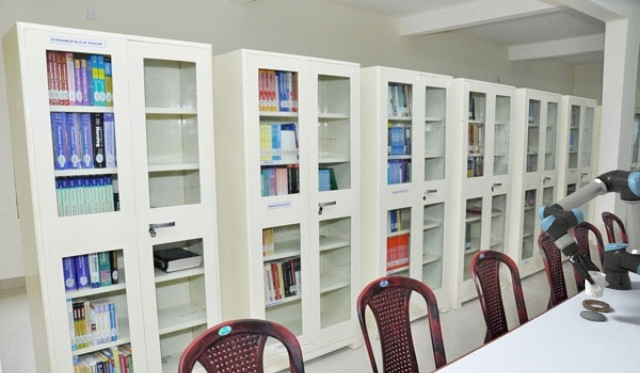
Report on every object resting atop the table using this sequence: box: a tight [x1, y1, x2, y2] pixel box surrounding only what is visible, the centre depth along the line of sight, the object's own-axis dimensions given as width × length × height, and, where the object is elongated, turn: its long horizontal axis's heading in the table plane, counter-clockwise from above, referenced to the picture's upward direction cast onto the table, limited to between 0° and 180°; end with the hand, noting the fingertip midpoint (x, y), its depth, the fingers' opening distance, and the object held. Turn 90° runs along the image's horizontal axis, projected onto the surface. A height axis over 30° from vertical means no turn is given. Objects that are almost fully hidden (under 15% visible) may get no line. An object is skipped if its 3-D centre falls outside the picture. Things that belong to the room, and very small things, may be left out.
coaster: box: [579, 310, 606, 322], centre depth 213 cm, size 10×10×1 cm
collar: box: [581, 298, 611, 313], centre depth 223 cm, size 11×11×2 cm
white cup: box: [584, 270, 606, 299], centre depth 211 cm, size 8×8×10 cm
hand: (603, 288), depth 208 cm, fingers closed on white cup, 8 cm apart
